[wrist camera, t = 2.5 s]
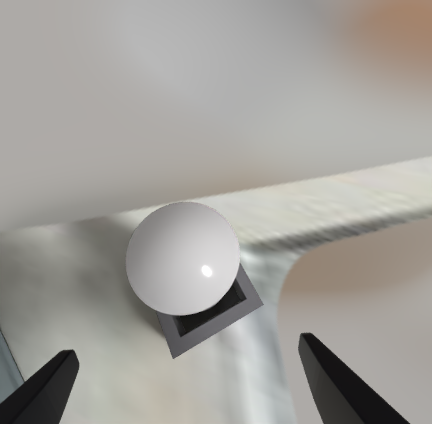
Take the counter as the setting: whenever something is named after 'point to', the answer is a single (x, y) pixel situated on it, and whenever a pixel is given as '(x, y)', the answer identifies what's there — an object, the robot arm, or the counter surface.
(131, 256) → the white rounded column
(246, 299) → the light bulb socket
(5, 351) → the parts tray
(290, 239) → the counter surface
